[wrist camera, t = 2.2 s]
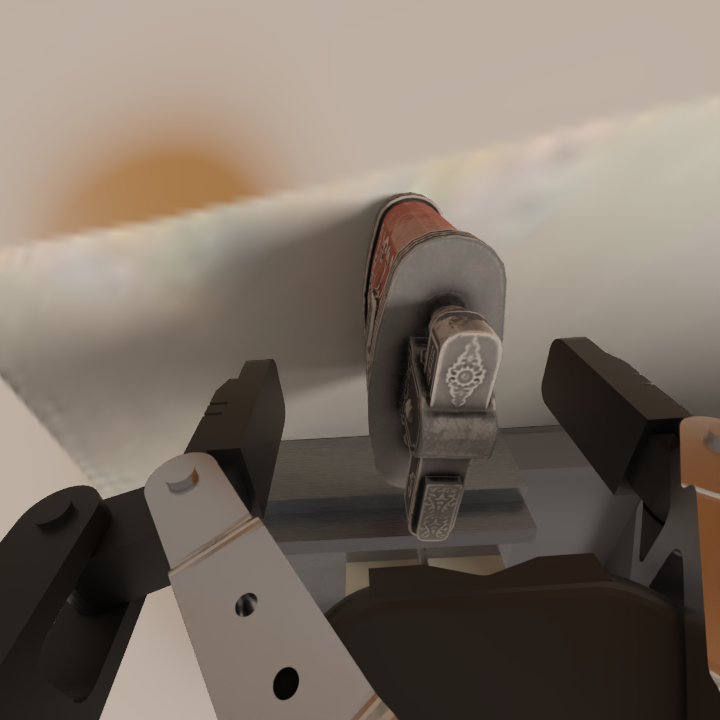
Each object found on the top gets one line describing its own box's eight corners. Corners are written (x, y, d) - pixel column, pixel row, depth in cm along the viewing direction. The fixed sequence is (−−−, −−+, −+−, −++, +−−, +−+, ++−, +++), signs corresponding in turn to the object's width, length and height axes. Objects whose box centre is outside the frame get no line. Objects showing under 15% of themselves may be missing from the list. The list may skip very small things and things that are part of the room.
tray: (688, 418, 20) (736, 458, 18) (609, 568, 28) (635, 611, 26) (499, 428, 21) (519, 470, 18) (472, 574, 28) (484, 618, 26)
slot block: (499, 428, 21) (542, 515, 16) (472, 574, 28) (496, 661, 24) (269, 441, 21) (244, 530, 16) (305, 583, 29) (296, 670, 24)
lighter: (367, 190, 14) (388, 269, 6) (453, 194, 14) (605, 276, 6) (358, 366, 18) (363, 566, 10) (425, 368, 18) (488, 568, 10)
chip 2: (501, 555, 20) (518, 605, 18) (491, 593, 22) (506, 641, 20) (427, 558, 20) (436, 608, 18) (425, 596, 22) (433, 645, 20)
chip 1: (418, 559, 20) (426, 609, 18) (417, 596, 22) (423, 645, 20) (346, 562, 20) (345, 613, 18) (351, 600, 22) (351, 649, 20)
